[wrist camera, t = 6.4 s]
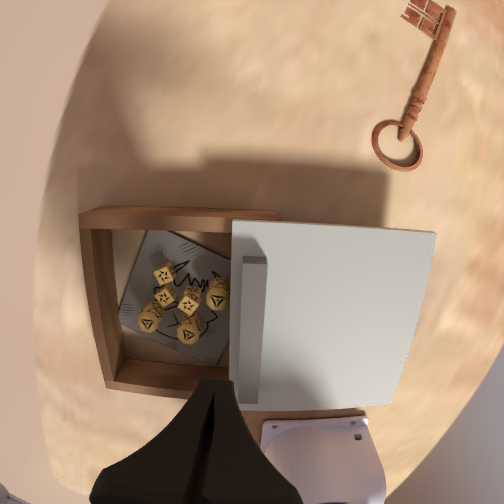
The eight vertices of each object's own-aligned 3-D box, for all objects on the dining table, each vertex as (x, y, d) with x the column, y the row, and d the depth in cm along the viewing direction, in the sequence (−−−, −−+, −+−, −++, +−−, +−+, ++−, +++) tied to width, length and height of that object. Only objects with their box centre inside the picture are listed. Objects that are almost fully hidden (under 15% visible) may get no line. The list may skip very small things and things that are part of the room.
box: (276, 210, 20) (281, 220, 17) (264, 377, 23) (266, 403, 20) (99, 206, 20) (78, 214, 17) (119, 365, 23) (106, 388, 20)
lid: (432, 231, 17) (447, 238, 15) (388, 399, 20) (395, 414, 19) (233, 218, 17) (231, 225, 15) (229, 405, 20) (228, 422, 18)
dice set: (235, 282, 21) (234, 295, 19) (204, 342, 22) (201, 357, 20) (164, 249, 20) (156, 258, 18) (140, 312, 21) (131, 325, 20)
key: (407, -15, 15) (336, 137, 19) (412, -20, 14) (339, 135, 18) (468, 26, 16) (409, 181, 19) (474, 23, 15) (415, 181, 18)
